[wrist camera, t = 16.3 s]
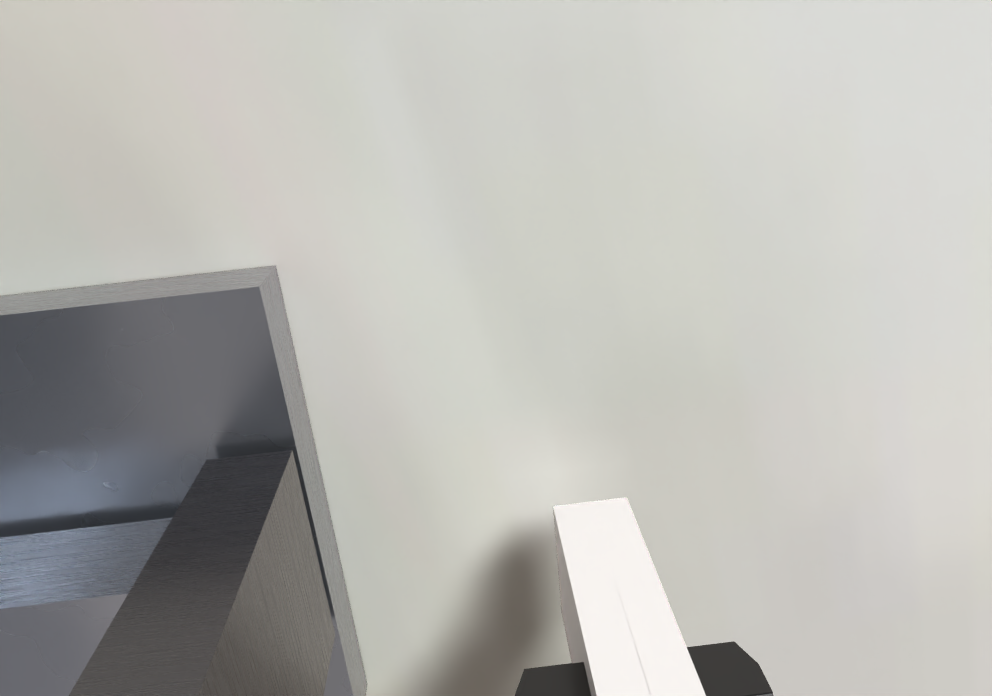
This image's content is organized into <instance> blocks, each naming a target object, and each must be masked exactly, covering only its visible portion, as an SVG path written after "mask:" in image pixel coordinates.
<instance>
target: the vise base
mask: <svg viewBox="0 0 992 696" xmlns="http://www.w3.org/2000/svg"><path fill="white" fill-rule="evenodd" d="M287 450H293V454H294V459H295V463H296V467H297V472H298V476H299V480H300V485H301V489H302V493H303V497H304V502H305V506H306V510H307V515H308V519H309V523H310V528H311V532H312V536H313V540H314V545H315V549H316V553H317V558H318V562H319V566H320V571H321V575H322V579H323V584H324V588H325V592H326V596H327V601H328V605H329V609H330V614H331V618H332V622H333V627H334V631H335V638H334V644H333V649H332V654H331V659H330V665H329V670H328V675H327V680H326V686H325V691H324V696H366V690H367V681H366V676H365V672H364V667H363V663H362V658H361V653H360V649H359V644H358V640H357V635H356V631H355V626H354V621H353V617H352V612H351V608H350V603H349V599H348V594H347V589H346V585H345V580H344V576H343V571H342V567H341V562H340V557H339V553H338V548H337V544H336V539H335V534H334V530H333V525H332V521H331V516H330V512H329V507H328V502H327V498H326V493H325V489H324V484H323V480H322V475H321V470H320V466H319V461H318V457H317V452H316V448H315V443H314V438H313V434H312V429H311V425H310V420H309V415H308V411H307V406H306V402H305V397H304V393H303V388H302V383H301V379H300V374H299V370H298V365H297V361H296V356H295V351H294V347H293V342H292V338H291V333H290V328H289V324H288V319H287V315H286V310H285V306H284V301H283V296H282V292H281V287H280V283H279V278H278V274H277V269H276V266H268V267H259V268H250V269H241V270H232V271H223V272H214V273H205V274H196V275H186V276H177V277H168V278H159V279H150V280H141V281H132V282H123V283H114V284H105V285H96V286H87V287H78V288H69V289H60V290H51V291H42V292H33V293H23V294H14V295H5V296H0V538H1V537H10V536H19V535H27V534H36V533H44V532H53V531H61V530H70V529H78V528H87V527H95V526H104V525H113V524H121V523H130V522H138V521H147V520H155V519H164V518H172V517H173V516H174V514H175V513H176V511H177V509H178V508H179V506H180V504H181V502H182V501H183V499H184V497H185V496H186V494H187V492H188V490H189V489H190V487H191V485H192V484H193V482H194V480H195V478H196V477H197V475H198V473H199V472H200V470H201V468H202V466H203V465H204V463H205V461H206V460H209V459H218V458H227V457H235V456H244V455H253V454H261V453H270V452H279V451H287Z"/></svg>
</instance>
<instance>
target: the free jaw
mask: <svg viewBox="0 0 992 696" xmlns="http://www.w3.org/2000/svg"><path fill="white" fill-rule="evenodd" d="M334 638H335V631H334V627H333V622H332V618H331V614H330V609H329V605H328V601H327V596H326V592H325V588H324V584H323V579H322V575H321V571H320V566H319V562H318V558H317V553H316V549H315V545H314V540H313V536H312V532H311V528H310V523H309V519H308V515H307V510H306V506H305V502H304V497H303V493H302V489H301V485H300V480H299V476H298V472H297V467H296V463H295V459H294V454H293V450H287V451H279V452H270V453H261V454H253V455H244V456H235V457H227V458H218V459H209V460H206V461H205V463H204V465H203V466H202V468H201V470H200V472H199V473H198V475H197V477H196V478H195V480H194V482H193V484H192V485H191V487H190V489H189V490H188V492H187V494H186V496H185V497H184V499H183V501H182V502H181V504H180V506H179V508H178V509H177V511H176V513H175V514H174V516H173V517H172V518H164V519H155V520H147V521H138V522H130V523H121V524H113V525H104V526H95V527H87V528H78V529H70V530H61V531H53V532H44V533H36V534H27V535H19V536H10V537H1V538H0V696H324V691H325V686H326V680H327V675H328V670H329V665H330V659H331V654H332V649H333V644H334Z"/></svg>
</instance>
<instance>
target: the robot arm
mask: <svg viewBox="0 0 992 696" xmlns="http://www.w3.org/2000/svg"><path fill="white" fill-rule="evenodd" d="M553 512H554V524H555V537H556V549H557V562H558V574H559V586H560V599H561V611H562V617H563V622H564V627H565V632H566V637H567V642H568V646H569V651H570V656H571V661H572V663H570V664H562V665H554V666H546V667H538V668H530V669H524V672H523V674H522V677H521V680H520V683H519V685H518V688H517V691H516V694H515V696H773V692H772V690H771V688H770V686H769V684H768V682H767V680H766V678H765V676H764V674H763V672H762V670H761V668H760V666H759V664H758V663H757V662H756V661H755V660H754V659H752V658H751V657H750V656H749V655H748V654H747V653H746V652H745V651H744V650H743V649H742V648H741V647H739V646H738V645H737V644H736V643H735V642H727V643H719V644H710V645H702V646H694V647H686V644H685V642H684V639H683V637H682V634H681V632H680V629H679V627H678V624H677V622H676V619H675V617H674V614H673V612H672V609H671V607H670V604H669V602H668V599H667V597H666V594H665V592H664V589H663V587H662V584H661V582H660V579H659V577H658V574H657V572H656V569H655V567H654V564H653V562H652V559H651V557H650V554H649V552H648V549H647V547H646V544H645V542H644V539H643V537H642V534H641V532H640V529H639V527H638V524H637V522H636V519H635V517H634V514H633V512H632V509H631V507H630V504H629V502H628V499H627V497H624V498H616V499H608V500H599V501H591V502H582V503H574V504H565V505H557V506H553Z"/></svg>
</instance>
